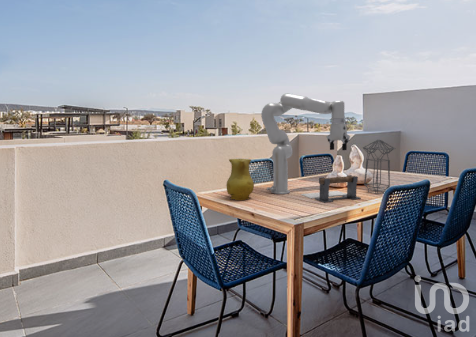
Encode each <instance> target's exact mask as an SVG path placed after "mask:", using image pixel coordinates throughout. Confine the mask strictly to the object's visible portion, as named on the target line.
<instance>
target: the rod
mask: <svg viewBox="0 0 476 337" xmlns="http://www.w3.org/2000/svg"><path fill="white" fill-rule="evenodd" d="M353 177H356V175H352V176H347V175H346V176H335V177H324V178H321V179H320V184H324V180H325V179H330V185H331V184H342V183H347V182H352V178H353ZM320 184H319V185H320Z"/></svg>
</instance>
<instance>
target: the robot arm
mask: <svg viewBox="0 0 476 337" xmlns="http://www.w3.org/2000/svg"><path fill="white" fill-rule="evenodd" d="M292 109H296V110H300V111H306V112H307V111H308V112H312V113H315V114H322V115H329V114H331V124H330V128H329V129H330V130H329V134H327V136H326V138H327V142H328V144H329V151H333V150H335V141H341V142H342V144H341V149H342V151H347V147H348V145H347V144H348V143H349V141H350V139H351V136H350V135H349V134H348V131H347V129H348V128H347V124H346V123H345V122H346V118H345V101H343V100H334V101H324V100H319V99H314V98H309V97H307V96H303V95H298V94H293V93H284V94H282V95H281V96H280V101H279V102H277V103H276V102H269V103H267V104H265V105H264V106H263V108H262V110H261V115H260V116H261V121H262V123H263V125H264V128H265V131H266V134H267V138H268V140H269V142H270V143H271V144H272V145H276V146H275V147H274V148H273V150H272V152H271V154H272V162H273V163H272V165H273V166H272V167H273V174H272V175H273V181H272V183H273V185H271V187H269V186H267V187H266V191H270V192H271V194H276V195H287V194H290V193H291V191H290V190H289V189H288V188H289V187H288V182H289V176H288V175H289V173H288V171H289V169H288V168H289V167H288V166H289V164H288V163H289V162H288V159H289V158H291V157H292V156H293V147H292V144H291V141H290V139H289V135H288V134H287V132H286V131H285V130H284V129H283V130H282V129H280V128H279V125H278V123H277V121H276V119H275V117H280V116H283V115H284V114H285V113H287V112H288V111H291V110H292Z"/></svg>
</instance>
